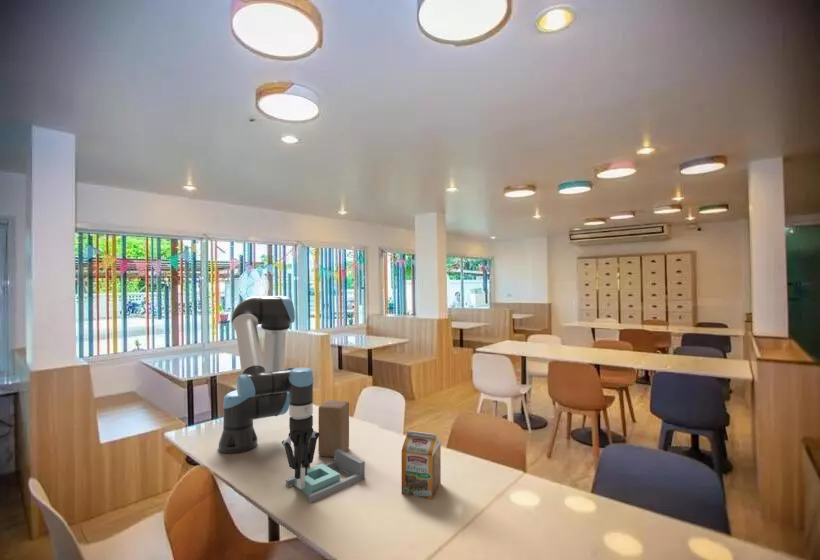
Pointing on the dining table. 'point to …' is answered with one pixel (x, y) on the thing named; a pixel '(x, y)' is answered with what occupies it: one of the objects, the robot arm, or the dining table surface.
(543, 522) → the dining table surface
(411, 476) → the milk carton
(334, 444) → the block
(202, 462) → the dining table surface
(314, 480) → the teal square ring
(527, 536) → the dining table surface
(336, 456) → the track
